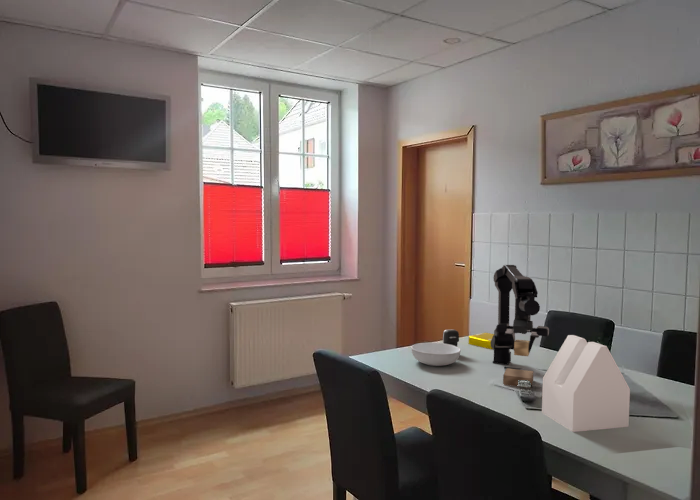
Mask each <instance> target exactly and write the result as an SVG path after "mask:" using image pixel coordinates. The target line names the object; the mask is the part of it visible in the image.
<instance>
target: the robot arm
mask: <svg viewBox="0 0 700 500" xmlns="http://www.w3.org/2000/svg"><path fill="white" fill-rule="evenodd" d="M493 282H494V287H495V289H496V290H497V291H498V298H497V299H498V304H497V305H498V307H497V308H498V310H497V311H498V312H497V313H498V314H497V324H496V325H495V326H496V327H495V329H494V331H493V334H494V335H493V337H492V340H491V347H492V348H493V349H492V350H493V360H492V363H493V364H499V365H509V364H510V363H511V362H512V351H510V350H513V351H514V342H515V341H516V334H521V335H526V334H527V333H530V335H529V341H530V343H529V353H531V350H532V347H533V345H534V342H535V341H536V339H538V338H540V337H549V334H550V328H549V327H548V326H546V325H545V326H543V325H538V326H537V327H534V323H533V320H531V316H536V315H537V314H538V313H539V312H540V309H541V306H540V303H539V302H538V301H537V300H535V299H536V298H538V292H539V291H538V290H537V287H536V284H535V282H534V281H533V279H532V278H531V277H528V276H525V275H524V274H522V273H521V272H520V270H519V269H518V268H517V265H515V264H504V265H502V267H501V268H499V269H496V270H495V272H494V274H493ZM511 291H513V294H514V320H513V324H512V325H510V297H511V295H510V294H511Z"/></svg>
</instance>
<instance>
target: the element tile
mask: <svg viewBox="0 0 700 500" xmlns="http://www.w3.org/2000/svg"><path fill="white" fill-rule="evenodd" d="M493 335H494V333H490V332H481V333H476V334H473V335H468V342H467V343H468V345H471V346H475V347H480V348H482V349H483V348H484V349H488V350H494V349H493V348H492V347H491V340H492V337H493Z"/></svg>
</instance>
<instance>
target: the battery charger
mask: <svg viewBox="0 0 700 500" xmlns="http://www.w3.org/2000/svg"><path fill="white" fill-rule="evenodd" d="M458 342H460V333H459V331H458V330H456V329H445V330H443V333H442V343H444V344H450V345H453V346H456V347H458Z"/></svg>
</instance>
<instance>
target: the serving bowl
mask: <svg viewBox="0 0 700 500" xmlns="http://www.w3.org/2000/svg"><path fill="white" fill-rule="evenodd" d="M410 348H411V353H412V356H413V358H414V359H415V360H417V361H418V362H420V363H422V364H424V365H426V366H427V365H428V366H432V367H443V366H447V365H452V364H454V363H456V362H457V360H458V359H459V358H460V355H461V348H460V347H458V346H457V347H456V346H453V345H450V344H444V343H443V342H420V343H415V344H412V345H411V347H410Z"/></svg>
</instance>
